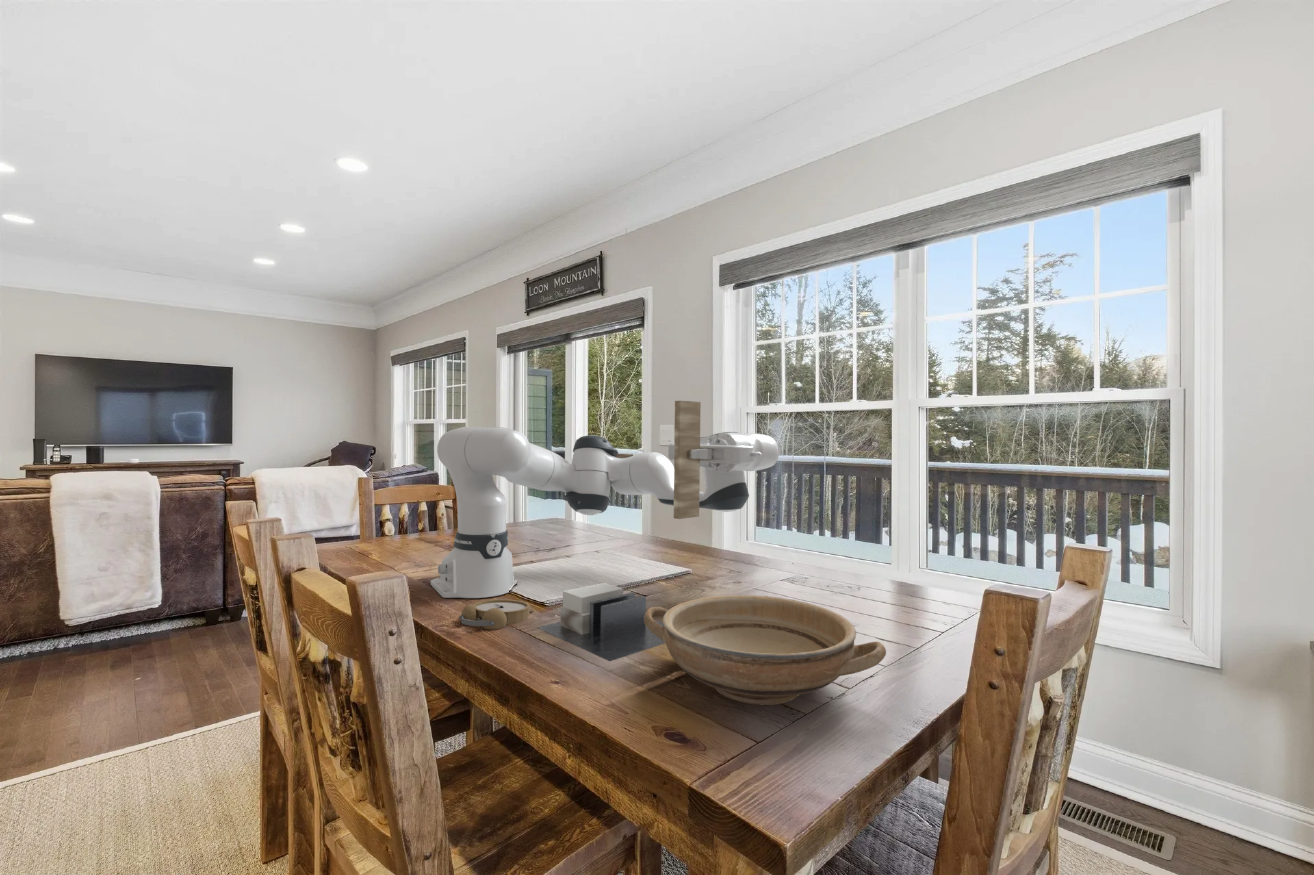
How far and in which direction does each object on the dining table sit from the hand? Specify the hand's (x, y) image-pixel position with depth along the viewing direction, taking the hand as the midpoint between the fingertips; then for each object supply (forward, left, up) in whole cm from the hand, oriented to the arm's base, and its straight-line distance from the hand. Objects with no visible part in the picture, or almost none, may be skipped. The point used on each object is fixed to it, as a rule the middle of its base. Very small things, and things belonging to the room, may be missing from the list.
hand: (684, 453), depth 121 cm
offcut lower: (-7, -17, -33) cm, 38 cm away
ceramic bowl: (+30, -15, -34) cm, 48 cm away
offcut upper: (-7, -18, -29) cm, 35 cm away
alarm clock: (-22, -31, -34) cm, 51 cm away
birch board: (0, +1, -13) cm, 13 cm away
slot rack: (0, -17, -34) cm, 38 cm away
